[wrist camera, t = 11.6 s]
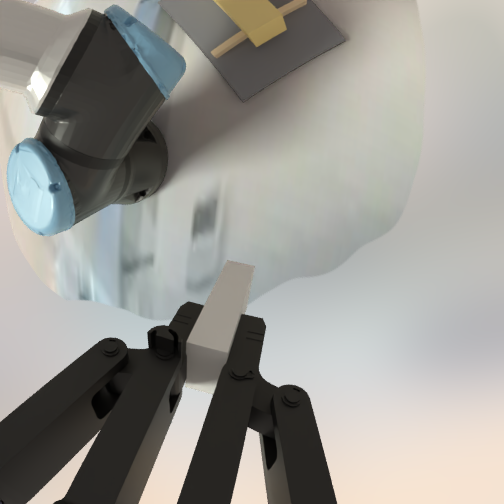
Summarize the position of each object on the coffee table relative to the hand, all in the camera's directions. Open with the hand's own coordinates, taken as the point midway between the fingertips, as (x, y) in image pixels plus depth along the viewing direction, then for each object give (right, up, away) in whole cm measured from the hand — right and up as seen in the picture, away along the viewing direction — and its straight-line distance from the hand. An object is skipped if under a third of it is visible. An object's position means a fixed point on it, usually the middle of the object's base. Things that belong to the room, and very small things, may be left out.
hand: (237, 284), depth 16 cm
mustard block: (+3, +30, +13) cm, 32 cm away
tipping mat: (0, +37, +16) cm, 40 cm away
